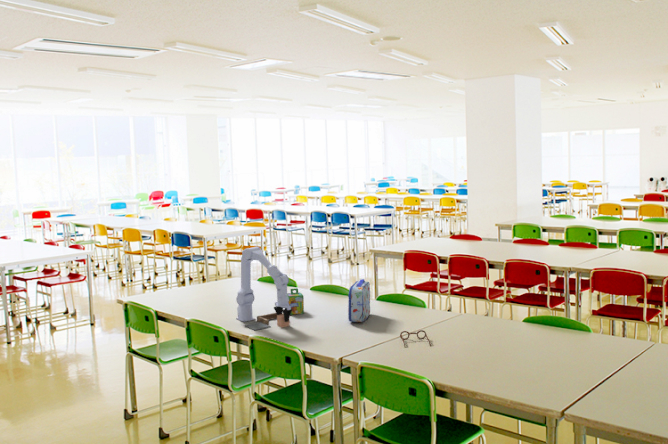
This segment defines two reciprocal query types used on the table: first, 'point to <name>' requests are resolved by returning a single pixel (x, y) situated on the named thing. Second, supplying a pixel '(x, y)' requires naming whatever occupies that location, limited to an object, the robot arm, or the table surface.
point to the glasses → (413, 333)
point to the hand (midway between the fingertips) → (283, 320)
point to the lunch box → (359, 301)
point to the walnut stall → (266, 318)
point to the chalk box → (296, 302)
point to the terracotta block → (282, 321)
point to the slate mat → (257, 326)
